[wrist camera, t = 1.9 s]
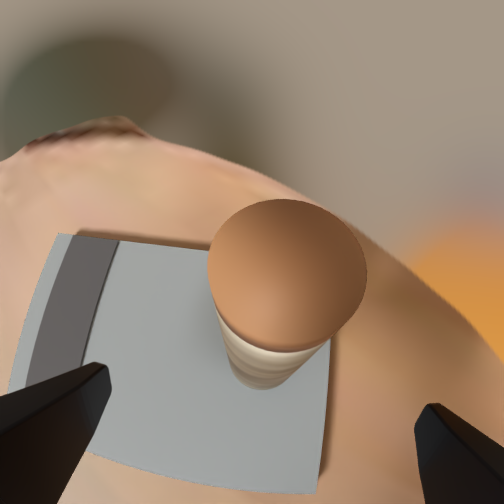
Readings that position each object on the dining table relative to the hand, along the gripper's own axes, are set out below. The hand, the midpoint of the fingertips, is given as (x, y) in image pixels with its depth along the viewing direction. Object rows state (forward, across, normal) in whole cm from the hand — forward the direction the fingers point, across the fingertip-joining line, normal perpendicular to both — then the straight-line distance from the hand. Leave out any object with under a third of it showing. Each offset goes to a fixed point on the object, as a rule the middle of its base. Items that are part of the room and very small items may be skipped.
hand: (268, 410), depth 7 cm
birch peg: (+8, 0, +4) cm, 9 cm away
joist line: (+8, +13, +4) cm, 16 cm away
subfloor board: (+9, +6, +6) cm, 12 cm away
